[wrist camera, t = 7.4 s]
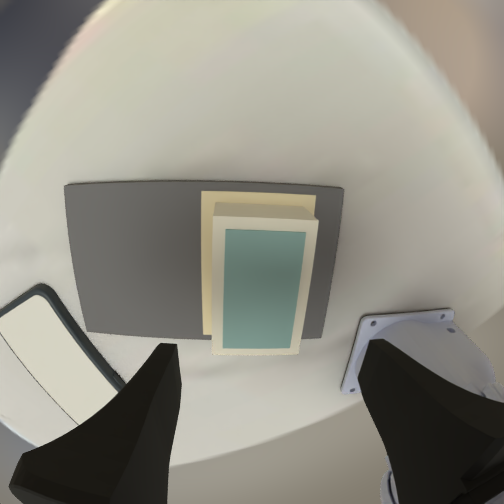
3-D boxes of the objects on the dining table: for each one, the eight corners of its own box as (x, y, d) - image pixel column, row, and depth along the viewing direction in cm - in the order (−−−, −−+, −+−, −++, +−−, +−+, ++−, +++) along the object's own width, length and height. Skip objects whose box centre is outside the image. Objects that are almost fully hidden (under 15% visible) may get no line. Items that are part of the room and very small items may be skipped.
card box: (288, 324, 20) (298, 355, 17) (213, 324, 20) (211, 356, 17) (303, 206, 18) (319, 221, 14) (215, 202, 17) (212, 216, 14)
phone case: (-3, 311, 20) (98, 430, 25) (-12, 319, 18) (94, 441, 24) (51, 274, 19) (162, 417, 24) (41, 283, 18) (160, 430, 23)
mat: (340, 187, 18) (344, 189, 17) (318, 333, 22) (321, 338, 21) (68, 184, 16) (63, 186, 16) (89, 327, 20) (86, 332, 19)
